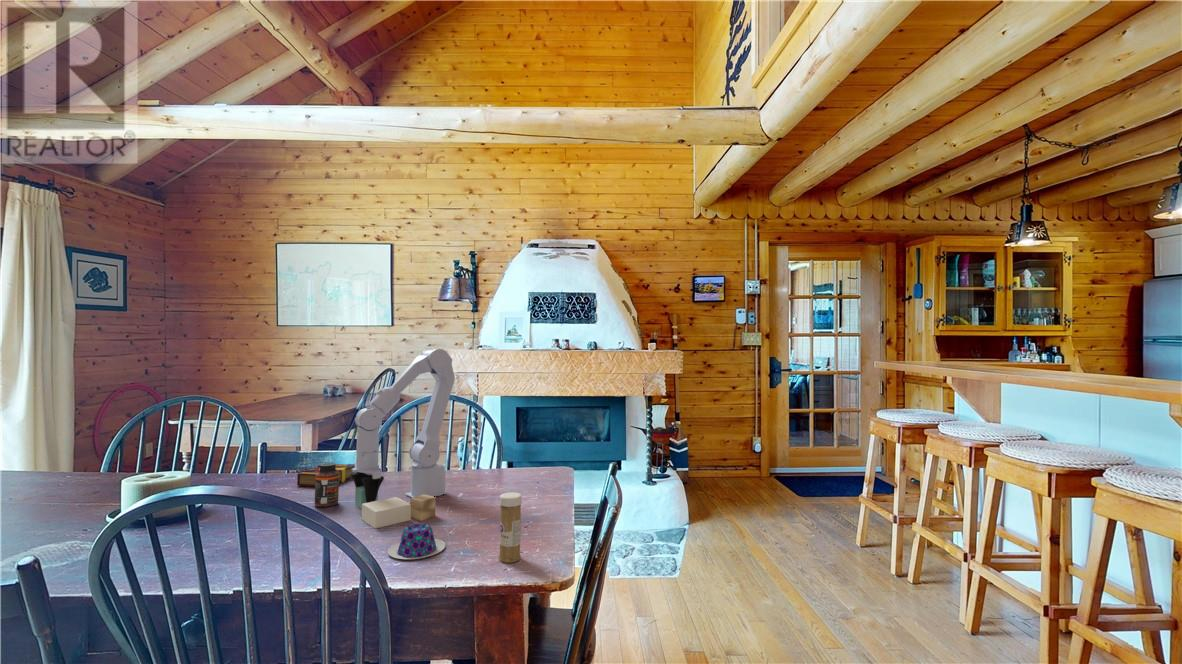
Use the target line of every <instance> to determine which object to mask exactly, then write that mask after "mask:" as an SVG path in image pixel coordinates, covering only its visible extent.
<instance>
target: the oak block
mask: <svg viewBox="0 0 1182 664" xmlns="http://www.w3.org/2000/svg"><path fill="white" fill-rule="evenodd" d="M409 498H410V499H409V504H411V519H412V520H413V519H414V520H417V521H422V522H423V521H425V520H428V519H430V517H431V518H433V516H434V517H436V505H437V504H436V503H437V502H436V500H437V496H435V497H433V496H429V495H420V496H417V497H414V498H411V497H409Z"/></svg>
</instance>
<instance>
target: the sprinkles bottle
mask: <svg viewBox="0 0 1182 664" xmlns="http://www.w3.org/2000/svg"><path fill="white" fill-rule="evenodd" d="M522 497H523V496H522V494H521V493H519V492H512V491H511V492H510V491H509V492H503V493H501V494H500V495H499V505H500V522H499V556H498V559H499V561H500V562H503V563H507V564H510V563H515V562H517V561H519V560H520V559H521V539H522V538H521V537H522V535H521V533H522V529H521V528H522V518H521V516H522V515H521V514H522V512H521V510H522V509H521V507H522V505H521V504H522V502H523V501H522Z"/></svg>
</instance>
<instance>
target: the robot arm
mask: <svg viewBox="0 0 1182 664" xmlns="http://www.w3.org/2000/svg"><path fill="white" fill-rule="evenodd" d="M452 363H453V358H452V357H451V355H450V354H449V353H448V351H447V350H445V349H442V348H435V349H433V348H427V349H424V350H423V351H422V352H421V353H420V355H417V356H416V357H415V358H414V360H413V361H412V362H411V363H410V364H409V365H408V367H406V369H404V371H403V372H402V373H401V375H400V376H399V377H398V378H397V379H396V380H395V381H394V382H393V383H392V385H391V386H385V387H383V388H382V389H381V388H380V389H378V390H377V391H376V395H375V396H374V398H373V399H371V401H370V402H369V403H368V402H366V404H365V405H364V408H362V409H360V410H359V411H358V412H357V413H356V415H355V416H356V417H355V418H354V422H355V424H356V426H357V427H356V428H357V432H356V434H357V435H356V458H355V460H356V461H355V462H354V463H353V464H354V468H352V472H355V473H351V477H352V480H353V482H354V486H355V488H356V487H360V486H364V489H365V496H366V502H367V503H368V502H373V501H376V497H377V493H378V494H379V489H380V487H381V484H382V483H383V482H384V480H385V478H384V476H382V471H381V469H380V465H379V454H380V452H379V450H380V449H379V445H380V444H379V442H380V441H379V440H380V439H379V438H380V437H379V434H380V433H379V432H380V431H379V429H380V426H382V422H383V418H385V416H387V414H388V413H390V412H391V410H393V408H394V407H395V406H396V405H397V404H398V403H399V401H400V400H401V399H400V398H401V396H400V395H401V394H402V392H404V390H405V389H406V388H407V387H408V386H410V384H412V382H414V381H415V380H416V378H417V377H419V376H420V375H422V374H425V373H430V374H431V376H432V377H433V379H434V380H435V383H434V387H433V390H432V393H431V398H430V400H429V404H428V408H427V411H426V415H425V418H424V421H423V423H422V424H423V425H422V427H421V430H420V432H419V433H418V434H417V435H416V436H415V437H416V438H415V441H414V442H413V443H412V444H411V446H410V448H409V451H408V455H409V457H410V459H411V460H412V462H411V471H410V472H411V473H410V475H411V478H410V491H409V492H405V494H404V495H405V496H408V497H409V498H414V497H417V496H420V495H429V496H433V497H434V496H435V497H439V496H443V494H444V495H446V494H447V492H446V468H445V466H444V464H443V463H441V462H440V463H439V462H438V461H439V460H440V455H441V453H440V446H441V441H440V436H439V435H440V431H441V428H442V425H443V421H444V418H445V415H446V410H447V409H448V408H447V407H448V404H449V401H450V397H451V394H452V389H453V386H454V383H455V374H454V373H455V372H454V368H453V364H452Z"/></svg>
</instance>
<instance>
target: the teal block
mask: <svg viewBox="0 0 1182 664" xmlns="http://www.w3.org/2000/svg"><path fill="white" fill-rule="evenodd" d="M354 499H355V501H354V502H355V503H354V504H355V506H357V507H358V508H359V509H361V510H362V504H363V503H367V502H366V496H365V489H364V486H360V487H356V486H355V498H354ZM378 500H379V492H378V493H377V497H376V501H378Z"/></svg>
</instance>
